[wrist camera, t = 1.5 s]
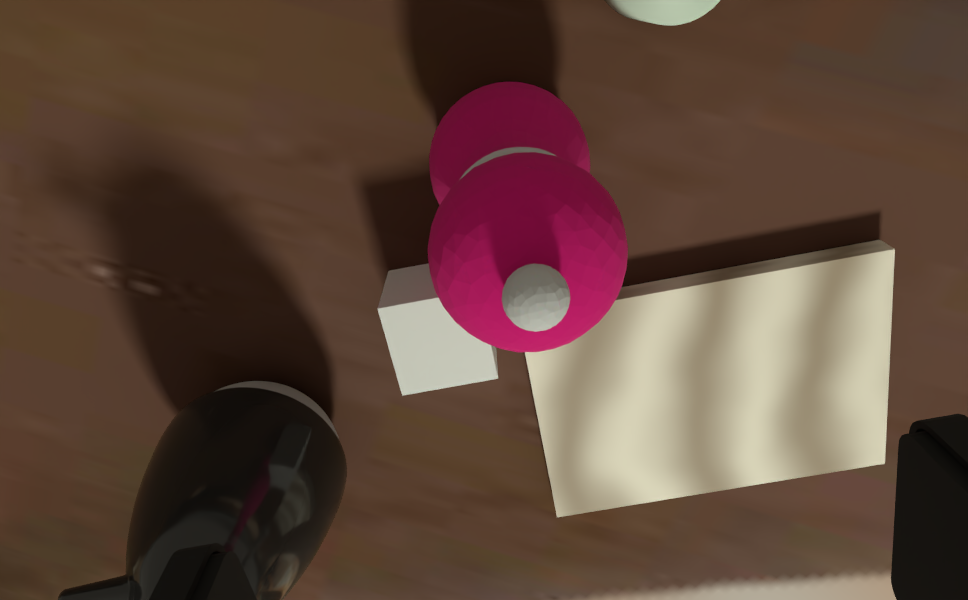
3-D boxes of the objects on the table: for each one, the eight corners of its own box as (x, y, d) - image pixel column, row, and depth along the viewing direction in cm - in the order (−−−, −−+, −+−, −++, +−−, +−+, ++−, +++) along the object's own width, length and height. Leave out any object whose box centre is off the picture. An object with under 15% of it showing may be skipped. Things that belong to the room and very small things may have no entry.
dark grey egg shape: (184, 340, 40) (30, 529, 26) (366, 369, 41) (311, 565, 27) (181, 483, 44) (47, 711, 30) (347, 505, 45) (291, 737, 31)
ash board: (879, 239, 38) (894, 249, 37) (872, 448, 44) (884, 463, 42) (516, 306, 39) (518, 318, 38) (554, 501, 45) (557, 517, 44)
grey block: (478, 253, 38) (478, 289, 34) (495, 333, 40) (498, 378, 36) (388, 270, 39) (377, 308, 34) (410, 349, 41) (402, 395, 36)
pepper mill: (405, 158, 36) (336, 336, 18) (492, 39, 34) (515, 102, 15) (516, 239, 38) (556, 476, 20) (605, 131, 36) (745, 286, 17)
